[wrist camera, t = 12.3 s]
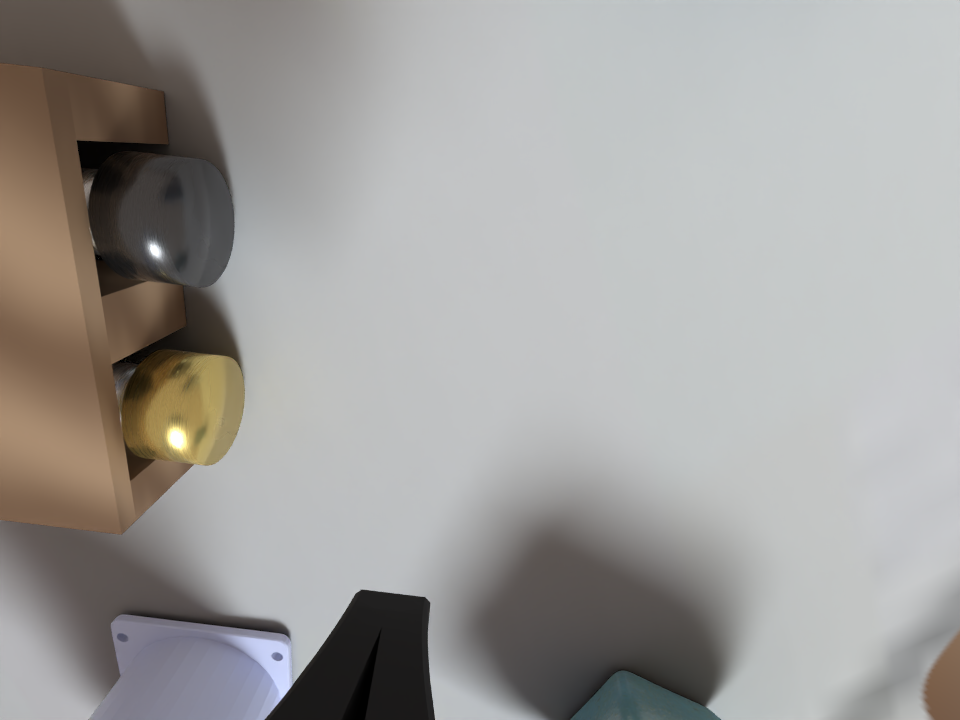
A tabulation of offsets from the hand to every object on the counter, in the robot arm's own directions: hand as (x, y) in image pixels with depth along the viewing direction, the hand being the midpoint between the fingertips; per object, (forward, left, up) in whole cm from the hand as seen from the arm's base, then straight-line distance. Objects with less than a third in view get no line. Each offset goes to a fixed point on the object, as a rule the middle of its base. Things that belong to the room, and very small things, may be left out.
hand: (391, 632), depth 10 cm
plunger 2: (0, +12, -10) cm, 15 cm away
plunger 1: (+6, +12, -9) cm, 17 cm away
